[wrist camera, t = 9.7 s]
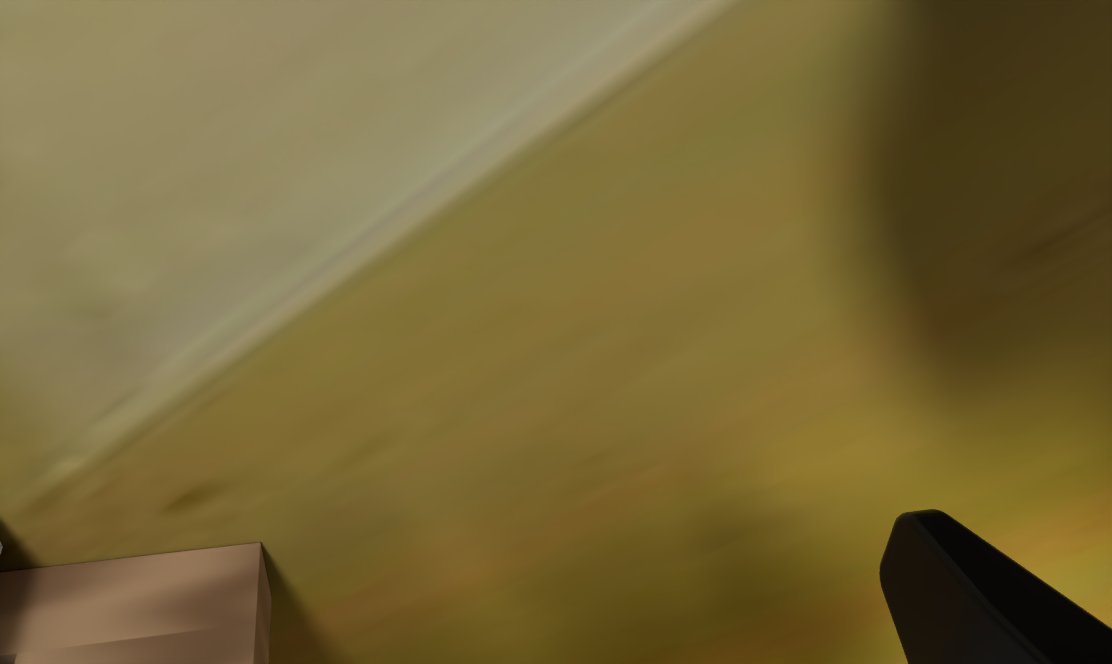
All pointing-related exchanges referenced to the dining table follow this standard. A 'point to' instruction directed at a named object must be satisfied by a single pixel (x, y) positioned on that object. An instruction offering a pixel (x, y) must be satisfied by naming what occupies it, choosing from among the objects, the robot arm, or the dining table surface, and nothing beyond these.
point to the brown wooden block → (140, 610)
